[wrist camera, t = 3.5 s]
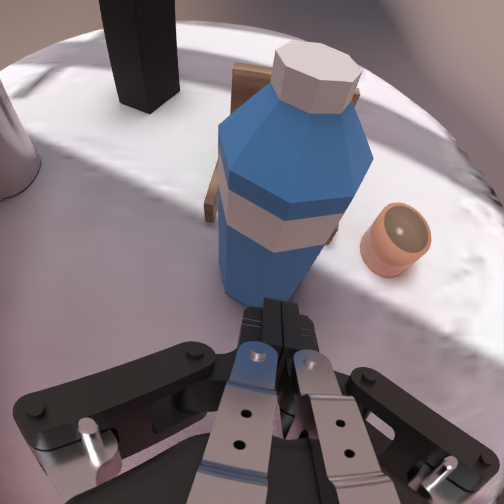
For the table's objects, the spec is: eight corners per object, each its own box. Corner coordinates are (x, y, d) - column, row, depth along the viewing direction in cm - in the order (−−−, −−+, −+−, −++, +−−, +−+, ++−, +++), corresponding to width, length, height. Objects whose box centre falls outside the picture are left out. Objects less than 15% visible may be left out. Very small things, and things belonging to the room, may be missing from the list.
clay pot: (387, 288, 35) (413, 269, 29) (349, 247, 37) (368, 221, 31) (415, 256, 37) (440, 234, 32) (379, 219, 39) (400, 192, 34)
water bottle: (305, 242, 36) (393, 50, 14) (297, 318, 32) (432, 151, 10) (227, 226, 36) (240, 14, 14) (210, 302, 32) (188, 94, 10)
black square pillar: (180, 91, 48) (175, -59, 22) (149, 115, 44) (129, -49, 19) (149, 81, 49) (135, -55, 24) (118, 103, 46) (92, -42, 20)
